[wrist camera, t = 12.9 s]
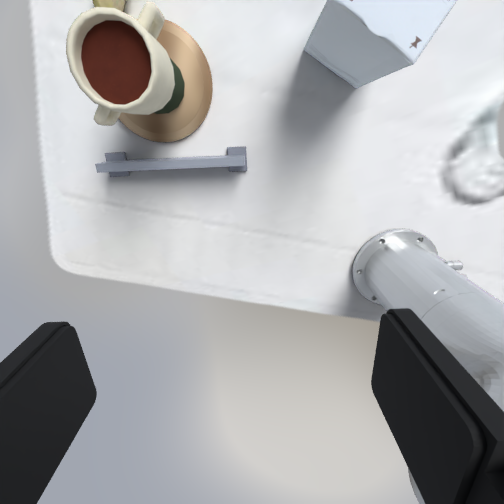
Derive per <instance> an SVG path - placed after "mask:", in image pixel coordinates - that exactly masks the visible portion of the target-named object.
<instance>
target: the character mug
mask: <svg viewBox="0 0 504 504" xmlns="http://www.w3.org/2000/svg"><path fill="white" fill-rule="evenodd" d="M164 21H165V19H164V16H163V14H162V13H161V11H160V10H159V9H158V7H157V6H156V5H155V3H153V2H148V1H147V2H146V4H145V5H144V7H143V9H142V11H141V13H140V15H139V18H138V20H136V19H135V18H133V17H132V16H130V15H128V14H126V13H124V12H122V11H120V10H118V9H116V8H107V7H95V8H92V9H90V10H88V11H85V12H83V13H81V14H80V15H79V16H78V17H77V18H76V19H75V21H74V22H73V23H72V25H71V27H70V29H69V31H68V35H67V42H66V54H67V59H68V63H69V67H70V71H71V73H72V75H73V77H74V78H75V80H76V82H77V84H78V86H79V88H80V89H81V90H82V91H83V92H84V93H85V94H86V95H87V96H88V97H89V98H90V99H91V100H92V101H93V102H94V103H96V104H98V105H99V106H98V108H97V110H96V112H95V116H94V120H95V122H96V123H97V124H99V125H106V126H112V125H114V124H115V123H116V122H117V120H118V118H119V116H120V114H121V112H122V113H129V114H143V115H149V114H151V113H155V114H166V113H170V112H171V111H173V110H175V109H176V108H178V107H179V105H180V103H181V101H182V99H183V97H184V88H185V82H184V79H183V76H182V73H181V71H180V69H179V68H178V66H177V65H176V64H175V63H174V62H173V60H172V59H171V58H169V56H168V54H167V51H166V50H165V49H164V48H163V47H162V45H161V44H160V43H159V42H158V41H157V38H158V36H159V33H160V31H161V29H162V27H163V24H164Z"/></svg>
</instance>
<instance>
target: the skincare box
mask: <svg viewBox="0 0 504 504" xmlns="http://www.w3.org/2000/svg"><path fill="white" fill-rule="evenodd" d="M456 1H457V0H327V2H326V4H325V6H324V8H323V10H322V12H321V14H320V16H319V18H318V20H317V23H316V25H315V27H314V29H313V31H312V33H311V35H310V37H309V39H308V41H307V43H306V45H305V47H304V50H305V51H306V52H307V53H308V54H310V55H311V56H312V57H314V58H315V59H317V60H318V61H319V62H320V63H322V64H323V65H324V66H326V67H327V68H328V69H330V70H331V71H332V72H334V73H335V74H337V75H338V76H339V77H341V78H342V79H344V80H345V81H347V82H348V83H350V84H351V85H352V86H353V87H355V88H358V87H361V86H363V85H365V84H367V83H370V82H372V81H374V80H377V79H379V78H381V77H384V76H386V75H388V74H391V73H393V72H395V71H398V70H400V69H402V68H405V67H407V66H410V65H413V64H414V63H415V62H416V60H417V59H418V57H419V56H420V54H421V53H422V51H423V50H424V49H425V47H426V46H427V44H428V43H429V41H430V40H431V38H432V37H433V35H434V34H435V32H436V31H437V30H438V28H439V27H440V25H441V24H442V22H443V21H444V19H445V18H446V16H447V15H448V13H449V12H450V10H451V9H452V7H453V6H454V4H455V3H456Z"/></svg>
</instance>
